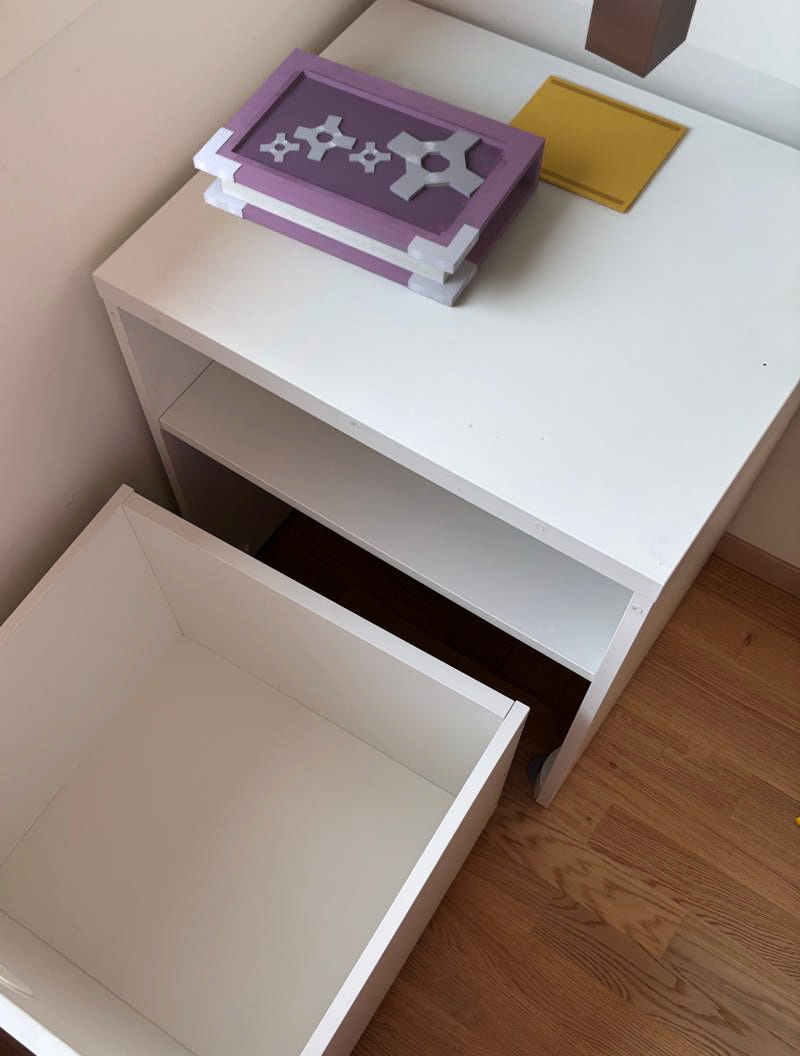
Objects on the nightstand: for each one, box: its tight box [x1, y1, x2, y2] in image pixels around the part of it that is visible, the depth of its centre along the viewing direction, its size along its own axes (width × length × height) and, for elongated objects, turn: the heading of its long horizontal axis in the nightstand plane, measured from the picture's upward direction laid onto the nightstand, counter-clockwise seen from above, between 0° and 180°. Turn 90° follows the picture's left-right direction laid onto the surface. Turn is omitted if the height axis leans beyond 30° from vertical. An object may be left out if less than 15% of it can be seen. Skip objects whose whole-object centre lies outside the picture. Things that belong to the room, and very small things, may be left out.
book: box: [192, 47, 545, 308], centre depth 87 cm, size 25×16×5 cm, turn 58°
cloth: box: [508, 74, 688, 214], centre depth 90 cm, size 14×12×1 cm
